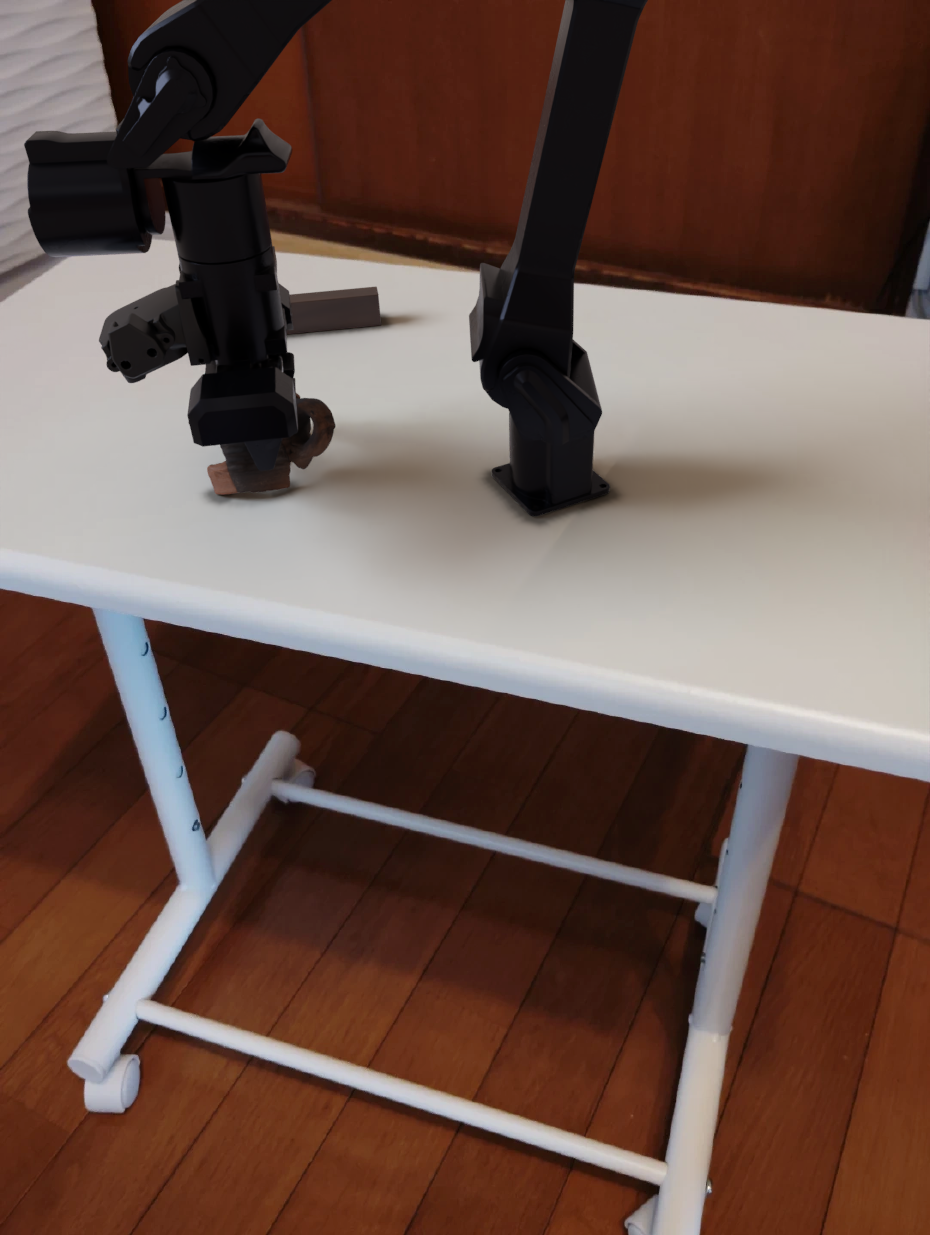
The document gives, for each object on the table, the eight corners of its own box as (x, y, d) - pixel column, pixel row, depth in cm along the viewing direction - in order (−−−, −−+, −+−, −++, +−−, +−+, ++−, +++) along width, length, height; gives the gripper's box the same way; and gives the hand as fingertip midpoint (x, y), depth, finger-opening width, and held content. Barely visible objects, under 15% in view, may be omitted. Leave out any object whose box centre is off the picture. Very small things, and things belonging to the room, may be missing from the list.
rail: (381, 325, 96) (378, 294, 94) (165, 346, 94) (158, 315, 92) (379, 316, 97) (376, 286, 95) (167, 337, 95) (160, 306, 93)
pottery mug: (174, 502, 75) (155, 388, 73) (248, 490, 83) (231, 388, 82) (315, 486, 70) (297, 364, 68) (378, 475, 78) (363, 366, 77)
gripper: (108, 210, 68) (161, 417, 78) (66, 321, 54) (137, 558, 64) (275, 196, 69) (306, 403, 79) (276, 302, 55) (314, 538, 65)
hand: (266, 468), depth 72 cm, fingers closed
